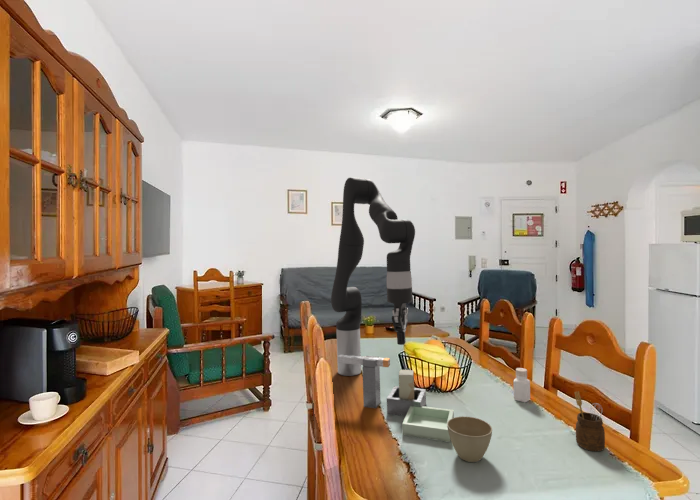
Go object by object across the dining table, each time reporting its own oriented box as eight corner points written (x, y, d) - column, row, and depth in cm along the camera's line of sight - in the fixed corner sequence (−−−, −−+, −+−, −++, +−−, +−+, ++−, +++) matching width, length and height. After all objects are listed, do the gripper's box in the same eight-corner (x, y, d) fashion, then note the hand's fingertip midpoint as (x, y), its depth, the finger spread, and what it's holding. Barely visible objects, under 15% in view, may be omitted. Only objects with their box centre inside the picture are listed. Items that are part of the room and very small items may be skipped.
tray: (411, 415, 110) (410, 404, 110) (453, 420, 106) (453, 409, 106) (402, 435, 99) (402, 423, 99) (449, 442, 95) (449, 430, 95)
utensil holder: (594, 455, 87) (593, 403, 87) (569, 442, 93) (568, 393, 93) (610, 448, 90) (610, 398, 90) (585, 436, 96) (584, 389, 95)
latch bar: (340, 360, 123) (340, 354, 123) (390, 364, 117) (389, 358, 117) (337, 363, 121) (337, 356, 121) (388, 367, 115) (387, 360, 115)
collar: (394, 400, 121) (394, 386, 121) (426, 403, 118) (425, 389, 118) (387, 413, 112) (386, 398, 112) (420, 417, 108) (420, 402, 108)
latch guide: (368, 400, 121) (367, 355, 121) (380, 401, 120) (379, 356, 120) (363, 406, 117) (362, 359, 116) (376, 408, 115) (374, 361, 115)
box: (414, 412, 112) (413, 375, 111) (399, 412, 113) (398, 374, 112) (414, 405, 117) (413, 369, 117) (400, 404, 118) (399, 369, 117)
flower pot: (487, 473, 82) (486, 440, 81) (442, 460, 87) (441, 429, 87) (496, 451, 90) (496, 421, 90) (454, 441, 95) (454, 412, 95)
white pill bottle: (530, 399, 119) (530, 369, 118) (526, 403, 116) (525, 372, 115) (517, 396, 121) (517, 366, 121) (513, 400, 118) (512, 369, 118)
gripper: (407, 288, 106) (410, 350, 106) (415, 284, 119) (417, 339, 119) (381, 288, 109) (383, 349, 109) (391, 284, 121) (394, 338, 121)
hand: (401, 343), depth 114 cm, fingers closed
